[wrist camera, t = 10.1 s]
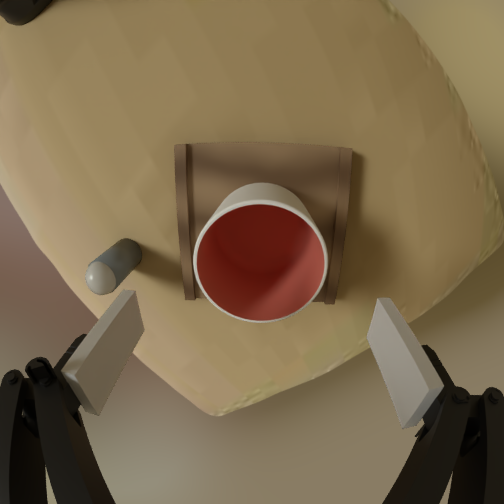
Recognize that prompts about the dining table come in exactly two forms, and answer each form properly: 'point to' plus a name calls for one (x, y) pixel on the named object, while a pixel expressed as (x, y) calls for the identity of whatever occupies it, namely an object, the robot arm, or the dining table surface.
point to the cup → (260, 255)
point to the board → (262, 171)
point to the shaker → (113, 266)
